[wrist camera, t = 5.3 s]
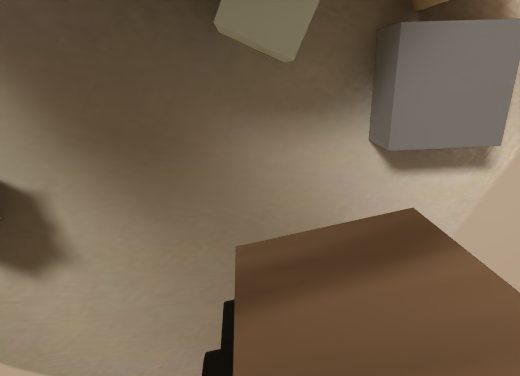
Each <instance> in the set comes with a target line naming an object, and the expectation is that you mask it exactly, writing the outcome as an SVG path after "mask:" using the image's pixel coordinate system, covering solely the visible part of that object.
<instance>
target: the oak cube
mask: <svg viewBox="0 0 520 376" xmlns="http://www.w3.org/2000/svg"><path fill="white" fill-rule="evenodd" d="M411 1H412V4H413V7H414V10H415V12H416V11H419V10H422V9H425V8H428V7H431V6H434V5H437V4H440V3H443V2H446V1H449V0H411Z"/></svg>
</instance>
